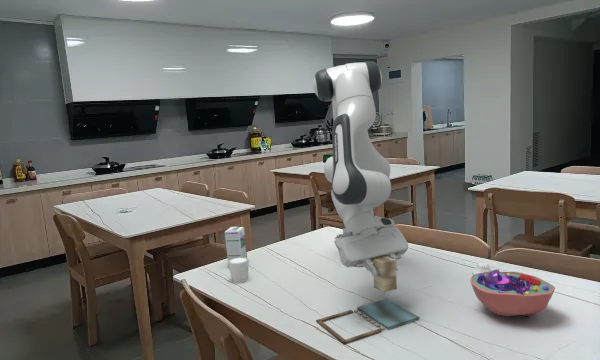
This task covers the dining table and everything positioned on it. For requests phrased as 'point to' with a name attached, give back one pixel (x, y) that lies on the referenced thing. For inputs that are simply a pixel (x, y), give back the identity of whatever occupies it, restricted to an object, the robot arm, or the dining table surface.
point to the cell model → (512, 292)
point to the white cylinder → (238, 269)
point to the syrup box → (235, 243)
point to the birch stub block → (385, 274)
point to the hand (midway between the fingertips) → (386, 273)
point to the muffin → (481, 268)
